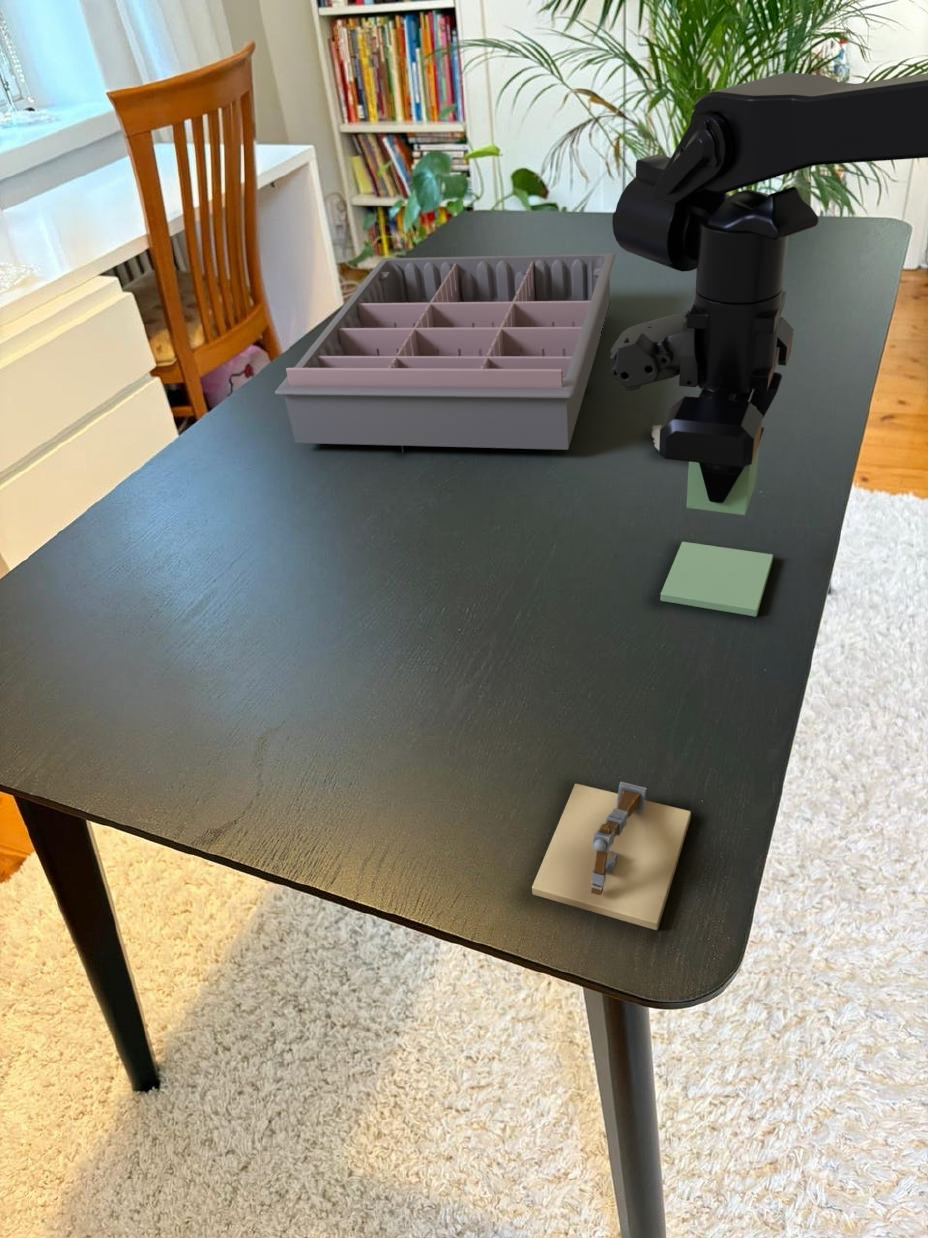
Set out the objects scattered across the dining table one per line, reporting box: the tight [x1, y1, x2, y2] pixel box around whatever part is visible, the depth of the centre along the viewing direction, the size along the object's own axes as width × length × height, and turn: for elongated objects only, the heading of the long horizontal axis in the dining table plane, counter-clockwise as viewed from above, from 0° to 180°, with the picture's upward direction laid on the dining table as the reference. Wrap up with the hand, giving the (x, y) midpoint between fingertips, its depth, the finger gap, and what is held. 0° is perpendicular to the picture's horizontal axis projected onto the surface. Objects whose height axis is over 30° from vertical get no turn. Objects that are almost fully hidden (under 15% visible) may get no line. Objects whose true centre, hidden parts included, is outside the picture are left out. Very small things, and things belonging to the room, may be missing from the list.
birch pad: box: [531, 783, 692, 931], centre depth 63 cm, size 8×9×1 cm
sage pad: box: [659, 541, 774, 617], centre depth 84 cm, size 8×8×1 cm
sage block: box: [686, 442, 761, 516], centre depth 75 cm, size 4×4×4 cm
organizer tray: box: [274, 252, 616, 452], centre depth 117 cm, size 32×40×10 cm
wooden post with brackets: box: [591, 781, 648, 895], centre depth 61 cm, size 2×8×4 cm, turn 156°
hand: (722, 485), depth 76 cm, fingers closed on sage block, 4 cm apart
